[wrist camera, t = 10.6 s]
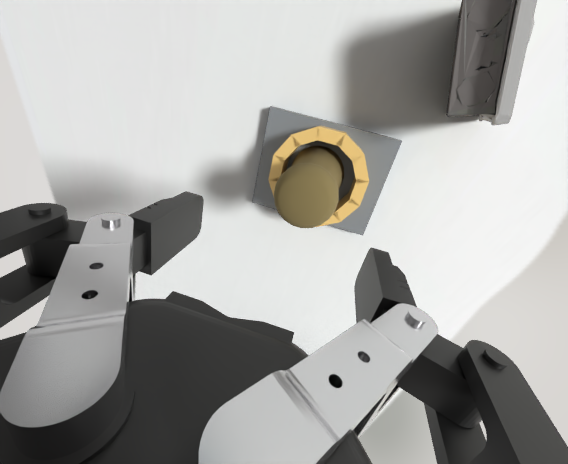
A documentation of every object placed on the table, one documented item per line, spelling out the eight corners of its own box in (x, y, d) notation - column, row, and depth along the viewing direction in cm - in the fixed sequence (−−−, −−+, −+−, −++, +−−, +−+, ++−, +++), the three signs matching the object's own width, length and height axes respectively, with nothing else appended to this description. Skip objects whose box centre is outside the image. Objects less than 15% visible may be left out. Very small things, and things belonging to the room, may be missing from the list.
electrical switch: (488, 119, 25) (542, 122, 17) (427, 125, 27) (451, 129, 19) (510, -3, 22) (593, -74, 13) (439, 11, 23) (475, -44, 15)
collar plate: (273, 106, 29) (262, 105, 25) (399, 139, 27) (408, 143, 24) (255, 199, 33) (243, 210, 30) (362, 231, 32) (364, 246, 28)
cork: (339, 203, 30) (337, 244, 20) (288, 196, 31) (262, 233, 21) (348, 148, 28) (351, 165, 18) (292, 142, 28) (265, 156, 19)
